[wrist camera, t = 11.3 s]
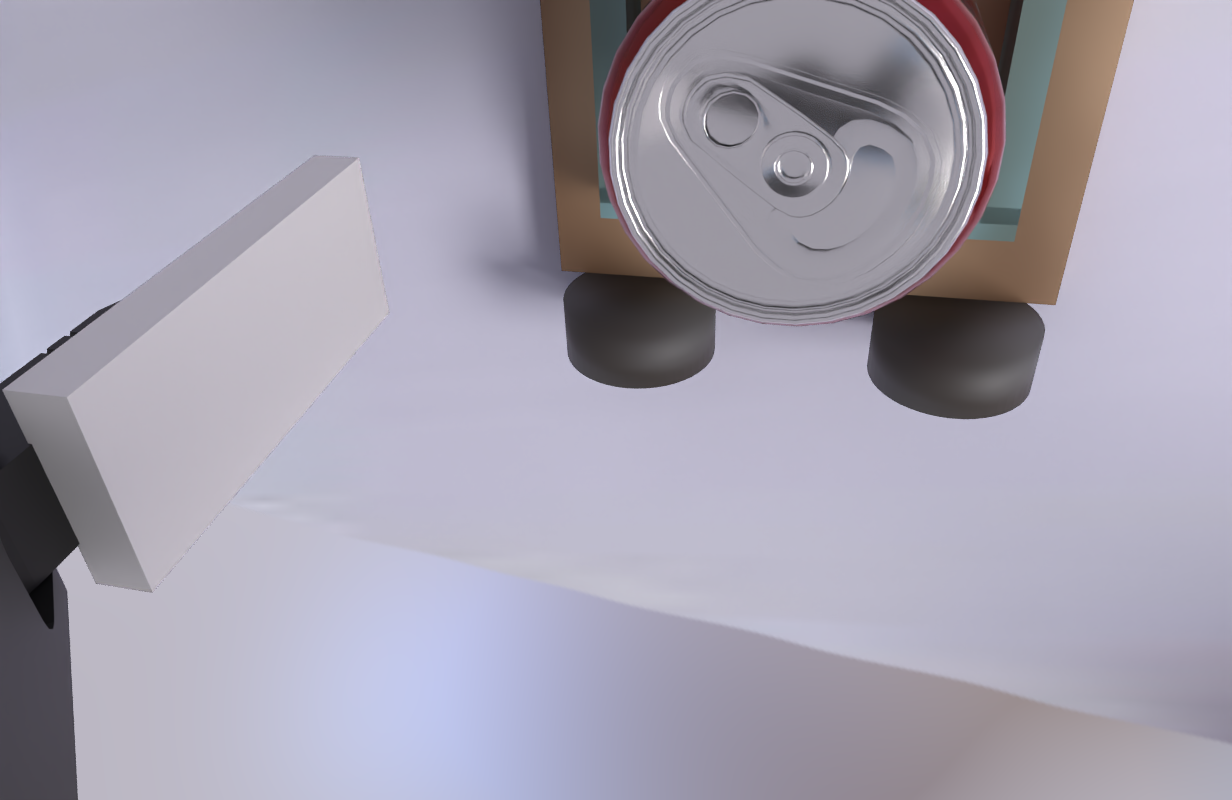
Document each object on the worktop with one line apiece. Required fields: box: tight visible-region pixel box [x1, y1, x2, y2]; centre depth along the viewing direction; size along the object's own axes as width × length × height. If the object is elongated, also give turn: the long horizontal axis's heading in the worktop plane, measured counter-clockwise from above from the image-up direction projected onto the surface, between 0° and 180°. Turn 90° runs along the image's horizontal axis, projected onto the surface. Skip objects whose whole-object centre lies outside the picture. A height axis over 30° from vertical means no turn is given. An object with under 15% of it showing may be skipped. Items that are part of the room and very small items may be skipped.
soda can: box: [598, 0, 1006, 326], centre depth 22 cm, size 7×7×12 cm
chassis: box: [540, 0, 1134, 419], centre depth 25 cm, size 16×22×5 cm
